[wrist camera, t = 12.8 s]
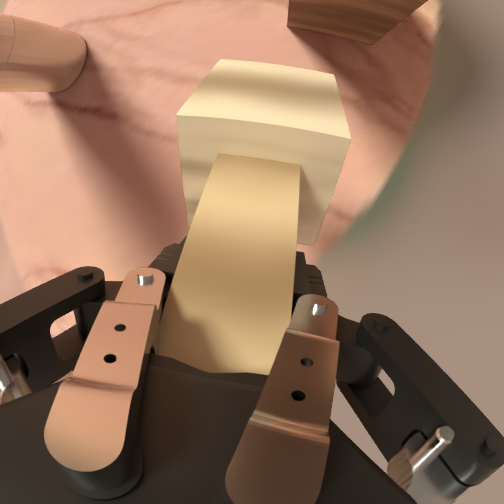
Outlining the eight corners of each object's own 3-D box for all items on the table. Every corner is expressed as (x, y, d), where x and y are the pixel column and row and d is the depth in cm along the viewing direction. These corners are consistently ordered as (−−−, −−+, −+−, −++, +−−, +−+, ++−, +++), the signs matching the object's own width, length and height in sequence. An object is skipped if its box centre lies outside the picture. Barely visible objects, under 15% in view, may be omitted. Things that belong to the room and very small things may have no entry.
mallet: (294, 481, 9) (365, 517, 4) (125, 449, 9) (28, 446, 4) (313, 160, 21) (333, 74, 15) (218, 146, 21) (220, 59, 16)
